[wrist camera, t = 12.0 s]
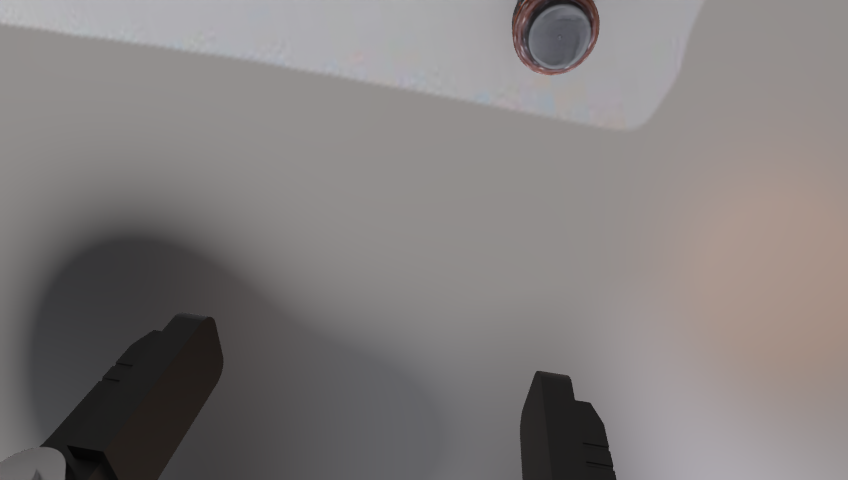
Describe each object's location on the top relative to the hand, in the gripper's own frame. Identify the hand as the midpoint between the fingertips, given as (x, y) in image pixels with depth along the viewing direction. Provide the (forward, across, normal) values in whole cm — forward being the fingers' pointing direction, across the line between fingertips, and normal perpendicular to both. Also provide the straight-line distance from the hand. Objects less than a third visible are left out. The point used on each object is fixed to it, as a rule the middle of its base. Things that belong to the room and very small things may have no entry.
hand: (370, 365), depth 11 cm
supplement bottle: (+37, -7, -4) cm, 38 cm away
